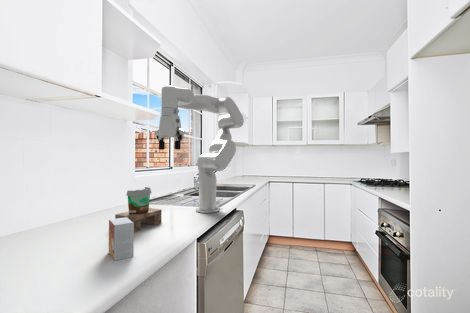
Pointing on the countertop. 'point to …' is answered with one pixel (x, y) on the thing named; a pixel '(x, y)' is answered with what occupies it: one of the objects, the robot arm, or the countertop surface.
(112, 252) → the small box
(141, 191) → the food container
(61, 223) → the countertop surface
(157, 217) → the bridge shelf
